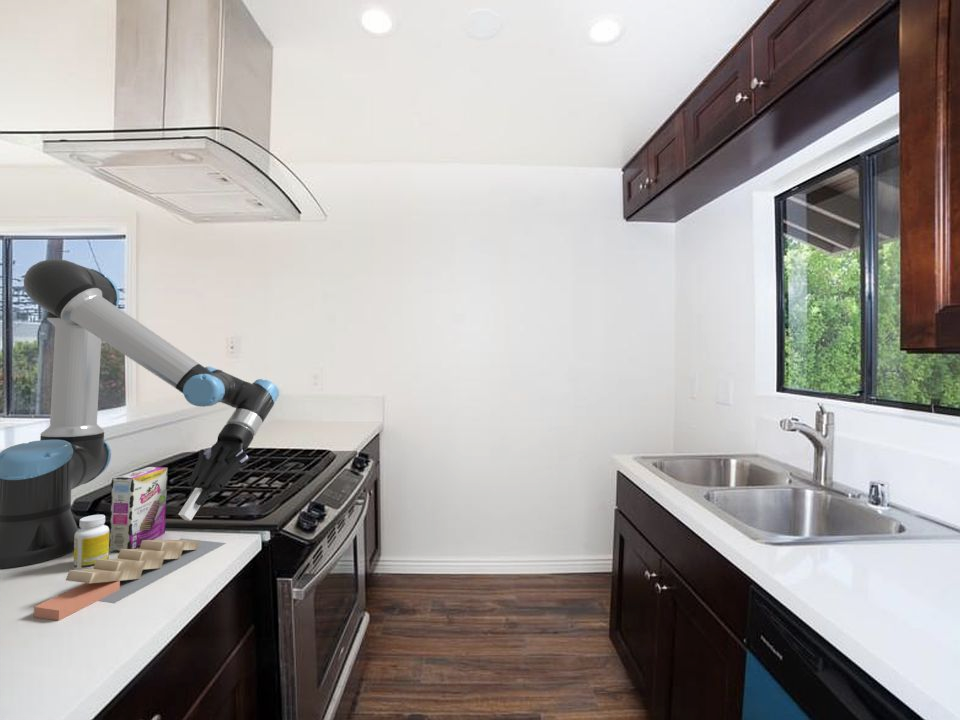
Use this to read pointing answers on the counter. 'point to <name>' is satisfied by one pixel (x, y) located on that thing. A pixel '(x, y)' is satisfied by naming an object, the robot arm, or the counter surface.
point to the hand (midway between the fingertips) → (184, 517)
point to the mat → (160, 571)
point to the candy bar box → (138, 507)
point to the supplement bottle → (91, 542)
